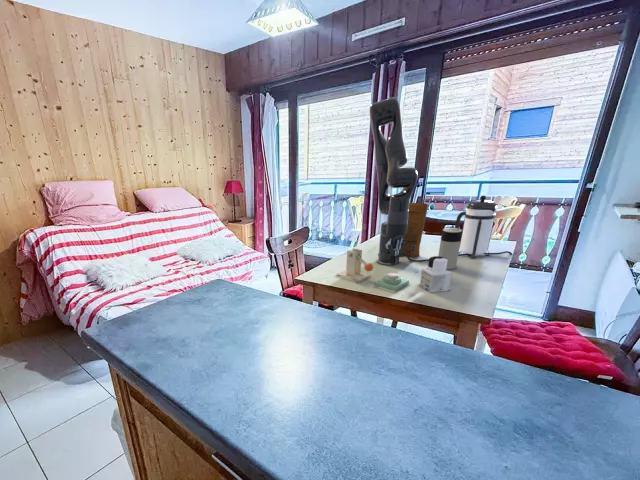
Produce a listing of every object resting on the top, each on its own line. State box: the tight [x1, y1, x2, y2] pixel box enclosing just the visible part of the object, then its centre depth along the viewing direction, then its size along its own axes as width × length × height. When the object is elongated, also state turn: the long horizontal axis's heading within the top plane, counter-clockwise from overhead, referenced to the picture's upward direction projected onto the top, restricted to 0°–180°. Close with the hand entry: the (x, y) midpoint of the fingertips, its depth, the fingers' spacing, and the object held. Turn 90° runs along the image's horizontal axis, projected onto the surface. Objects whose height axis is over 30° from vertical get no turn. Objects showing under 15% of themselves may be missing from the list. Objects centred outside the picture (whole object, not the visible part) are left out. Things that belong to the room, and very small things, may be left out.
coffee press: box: [454, 194, 498, 259], centre depth 165 cm, size 17×16×30 cm
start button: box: [387, 272, 399, 279], centre depth 136 cm, size 4×4×2 cm
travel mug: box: [437, 227, 462, 270], centre depth 152 cm, size 8×8×18 cm
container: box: [419, 255, 452, 293], centre depth 131 cm, size 8×8×13 cm
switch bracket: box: [336, 248, 371, 281], centre depth 148 cm, size 12×9×13 cm
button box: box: [374, 274, 410, 291], centre depth 137 cm, size 11×9×4 cm
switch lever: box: [352, 249, 374, 272], centre depth 144 cm, size 12×4×4 cm
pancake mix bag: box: [402, 202, 429, 258], centre depth 171 cm, size 7×19×28 cm, turn 43°
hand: (393, 263), depth 134 cm, fingers closed
